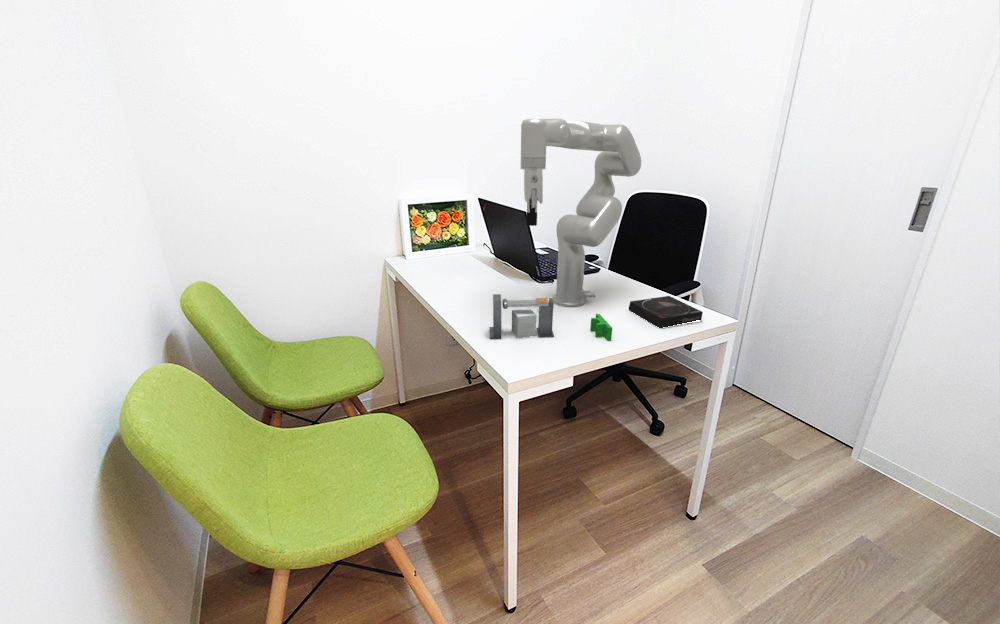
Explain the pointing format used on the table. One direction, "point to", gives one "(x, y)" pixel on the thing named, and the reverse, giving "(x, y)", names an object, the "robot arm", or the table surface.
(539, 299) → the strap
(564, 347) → the table surface
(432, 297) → the table surface
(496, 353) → the table surface
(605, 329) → the pipe clamp
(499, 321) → the hinge post
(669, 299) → the portable cd player
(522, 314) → the product box
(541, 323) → the lug block
